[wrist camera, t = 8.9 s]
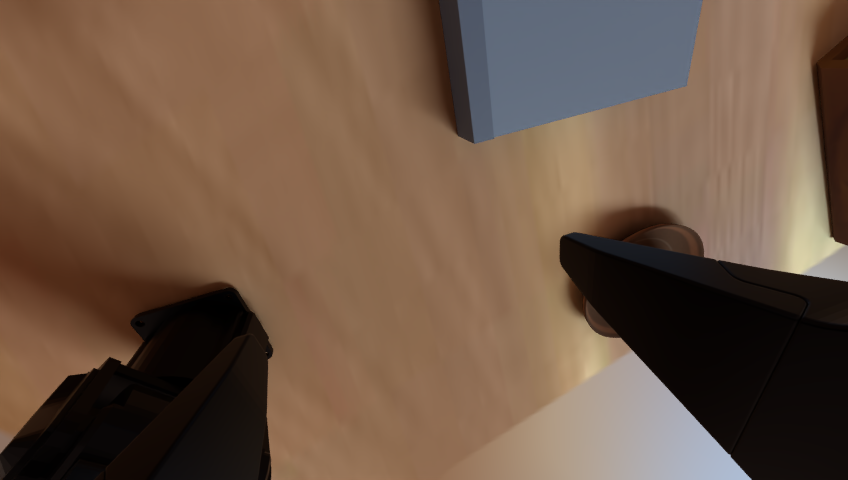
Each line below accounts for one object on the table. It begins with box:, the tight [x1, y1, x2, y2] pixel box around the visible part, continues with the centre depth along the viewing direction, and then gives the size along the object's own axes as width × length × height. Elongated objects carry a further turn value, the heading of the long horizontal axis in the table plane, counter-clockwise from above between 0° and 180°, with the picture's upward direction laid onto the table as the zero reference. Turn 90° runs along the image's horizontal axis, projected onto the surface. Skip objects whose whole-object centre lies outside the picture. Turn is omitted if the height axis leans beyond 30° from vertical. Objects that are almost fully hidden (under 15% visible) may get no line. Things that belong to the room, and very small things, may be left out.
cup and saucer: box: [583, 224, 704, 338], centre depth 28 cm, size 12×12×6 cm
